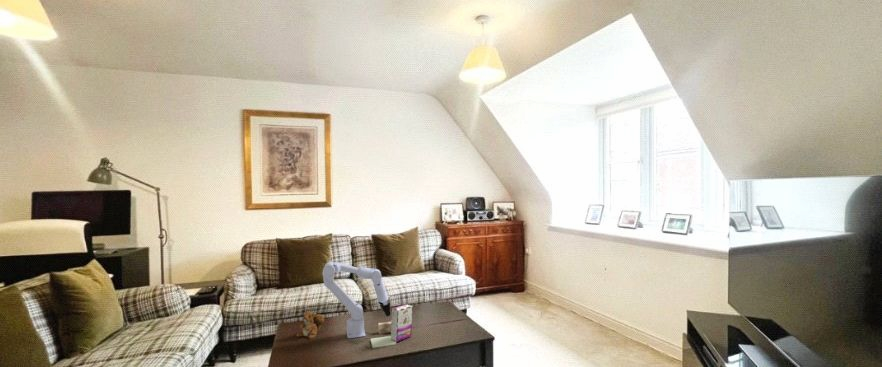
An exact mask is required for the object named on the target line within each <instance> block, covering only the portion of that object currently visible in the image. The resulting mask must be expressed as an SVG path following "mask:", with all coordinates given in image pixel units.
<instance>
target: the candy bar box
mask: <svg viewBox="0 0 882 367" xmlns="http://www.w3.org/2000/svg"><path fill="white" fill-rule="evenodd" d="M413 308H414V307H413V306H412V305H410V304H404V305H399V306H397V307H396V306H395V307H392V308H391V320H392V324H391V332H390V333H391V334H390V336H391V340H393V341H396V343H397V342H401V341H403V340H405V339H408V338H410V337H412V332H413V329H412V328H413V326H412V325H413Z"/></svg>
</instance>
